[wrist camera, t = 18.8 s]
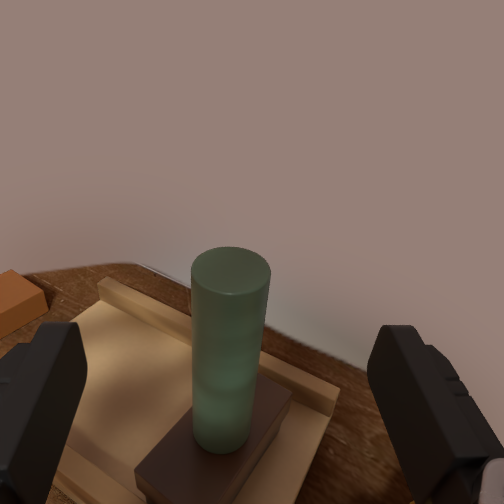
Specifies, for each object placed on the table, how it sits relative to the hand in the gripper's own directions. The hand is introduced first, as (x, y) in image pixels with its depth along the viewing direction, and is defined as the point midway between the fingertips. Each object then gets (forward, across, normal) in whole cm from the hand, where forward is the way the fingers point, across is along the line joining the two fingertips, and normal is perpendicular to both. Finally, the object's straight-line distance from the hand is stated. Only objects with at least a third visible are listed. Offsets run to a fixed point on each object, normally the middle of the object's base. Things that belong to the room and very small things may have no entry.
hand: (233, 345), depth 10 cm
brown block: (+14, +15, +13) cm, 25 cm away
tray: (+6, +4, +13) cm, 15 cm away
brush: (+3, 0, +12) cm, 12 cm away
